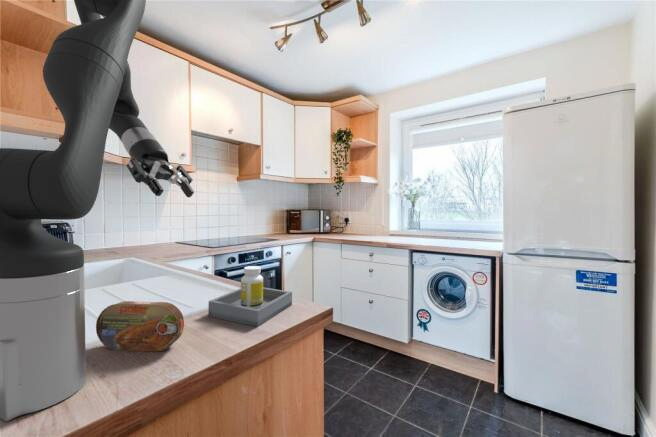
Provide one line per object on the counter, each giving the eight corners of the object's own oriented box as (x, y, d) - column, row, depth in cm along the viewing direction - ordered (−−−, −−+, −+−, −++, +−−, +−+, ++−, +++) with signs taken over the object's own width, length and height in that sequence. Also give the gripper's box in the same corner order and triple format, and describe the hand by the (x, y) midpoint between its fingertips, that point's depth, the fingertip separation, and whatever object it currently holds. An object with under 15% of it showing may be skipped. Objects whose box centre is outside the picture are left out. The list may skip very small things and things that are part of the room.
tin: (94, 349, 51) (93, 303, 50) (108, 341, 54) (108, 297, 54) (177, 353, 51) (177, 306, 50) (186, 344, 54) (186, 300, 53)
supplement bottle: (265, 303, 74) (266, 265, 73) (258, 310, 68) (259, 270, 68) (245, 301, 74) (246, 264, 74) (237, 309, 69) (237, 269, 68)
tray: (257, 327, 62) (258, 311, 62) (208, 315, 67) (208, 301, 67) (291, 304, 76) (292, 292, 76) (248, 297, 81) (248, 284, 81)
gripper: (122, 131, 66) (156, 181, 62) (176, 144, 79) (207, 185, 75) (108, 155, 68) (140, 204, 64) (162, 164, 81) (192, 205, 77)
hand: (176, 194), depth 70 cm, fingers open, 8 cm apart
